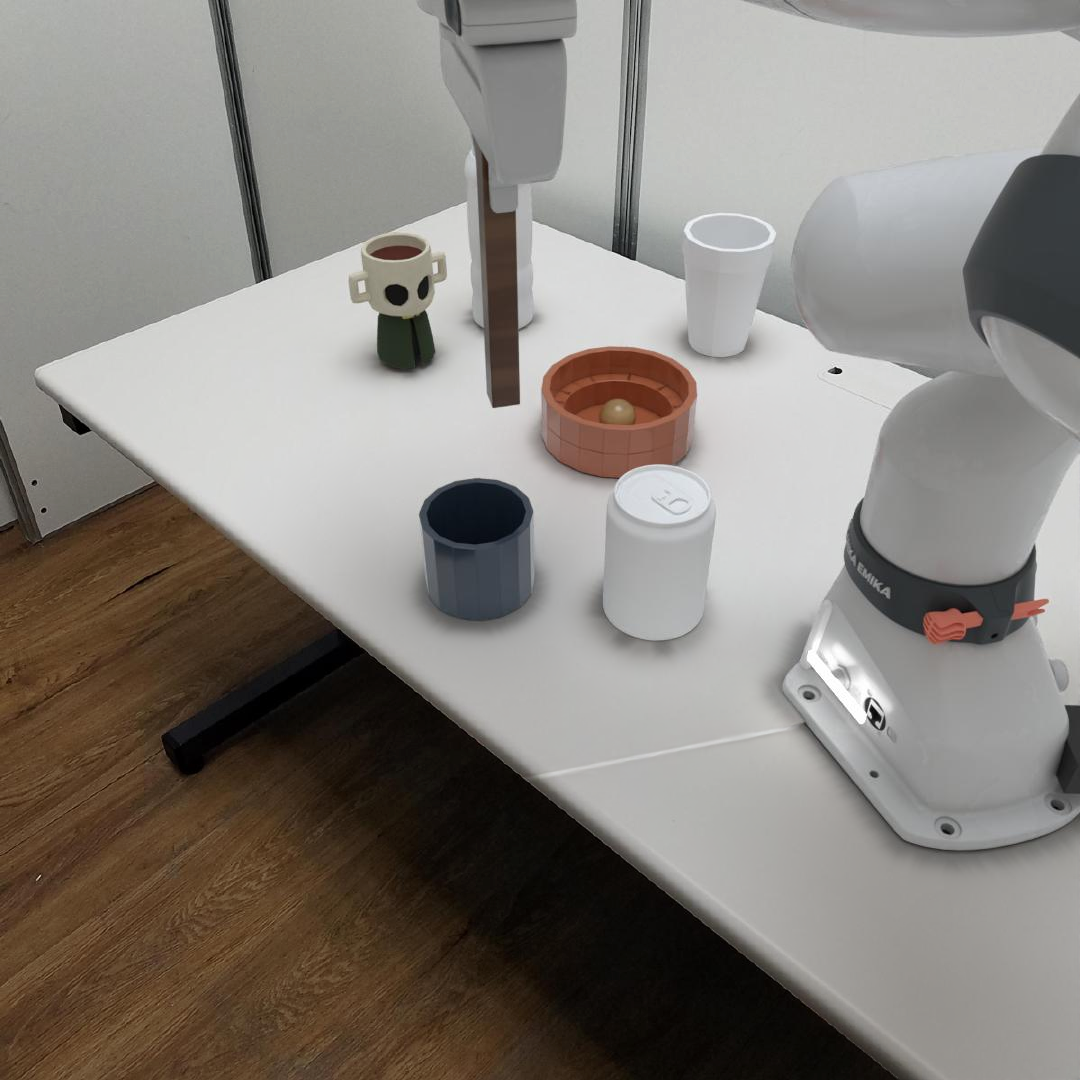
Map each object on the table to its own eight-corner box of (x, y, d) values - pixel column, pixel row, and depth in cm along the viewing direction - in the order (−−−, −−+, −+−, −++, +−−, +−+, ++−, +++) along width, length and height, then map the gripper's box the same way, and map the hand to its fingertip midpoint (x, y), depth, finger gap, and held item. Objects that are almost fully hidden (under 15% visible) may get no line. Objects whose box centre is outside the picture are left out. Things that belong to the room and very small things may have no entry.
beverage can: (647, 563, 90) (656, 447, 83) (723, 610, 86) (740, 492, 78) (581, 610, 86) (584, 492, 78) (658, 662, 82) (669, 543, 74)
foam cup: (758, 323, 121) (773, 214, 113) (762, 366, 114) (779, 253, 106) (674, 320, 122) (683, 211, 114) (674, 362, 115) (683, 249, 107)
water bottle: (533, 334, 120) (530, 107, 104) (470, 334, 120) (457, 107, 104) (534, 304, 125) (531, 83, 109) (474, 304, 126) (462, 84, 109)
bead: (640, 440, 103) (642, 409, 101) (604, 445, 102) (605, 414, 100) (629, 420, 106) (631, 389, 103) (594, 425, 105) (595, 394, 103)
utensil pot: (544, 614, 86) (543, 538, 81) (436, 632, 84) (428, 557, 79) (521, 545, 92) (519, 471, 87) (420, 561, 91) (412, 486, 86)
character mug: (373, 387, 112) (359, 272, 104) (348, 357, 117) (332, 245, 108) (466, 359, 116) (459, 247, 108) (437, 331, 121) (429, 222, 112)
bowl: (712, 470, 100) (719, 417, 96) (562, 493, 98) (563, 439, 94) (664, 389, 111) (668, 338, 107) (527, 407, 109) (527, 356, 105)
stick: (520, 404, 82) (514, 144, 69) (492, 408, 81) (481, 148, 68) (514, 389, 83) (507, 132, 70) (486, 393, 83) (474, 136, 70)
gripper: (410, -63, 70) (426, 147, 79) (469, 22, 55) (481, 269, 64) (503, -69, 71) (509, 139, 80) (586, 13, 56) (582, 257, 65)
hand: (497, 197), depth 72 cm, fingers closed on stick, 2 cm apart
